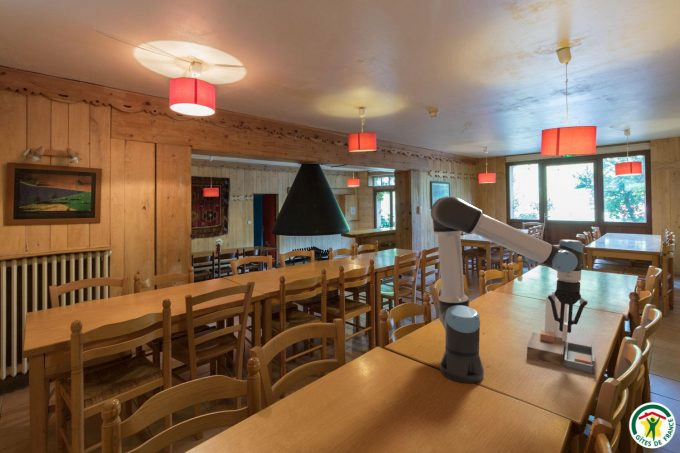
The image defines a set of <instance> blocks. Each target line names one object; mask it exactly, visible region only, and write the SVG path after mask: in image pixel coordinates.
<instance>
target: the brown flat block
mask: <svg viewBox="0 0 680 453" xmlns="http://www.w3.org/2000/svg"><path fill="white" fill-rule="evenodd" d="M540 334H541V333H538V332H532V334H531V335H530V339H529V341H528V344H527V346H526V359H532V360H535V361H540V362H544V363H549V364H552V365H557V366H562V367H564V359H565V351H566V341H562V338H559V337H555V341H554V342H550V341H545V340H540Z"/></svg>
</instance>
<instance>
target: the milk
mask: <svg viewBox="0 0 680 453" xmlns="http://www.w3.org/2000/svg"><path fill="white" fill-rule="evenodd" d="M554 293H555V291H552V292H551V295H552V294H554ZM555 304H556V309H557V314H558V317H559V318H560V310H561V302H560V301H559V300H558V299H557V297H556V296H555ZM568 308H569V305H568V304H565V310H564V322H565V323H568ZM544 310H545V312H544V313H545V315H544V331H549V332H554V333H555V337H559V338H562V334H563V332H562V331H560V330H559V326H560V323H559V322H558V321H555V320H554V315H553V311H552V306H551V302H550V300H549V299H548V296H546V297H545V309H544Z"/></svg>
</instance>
